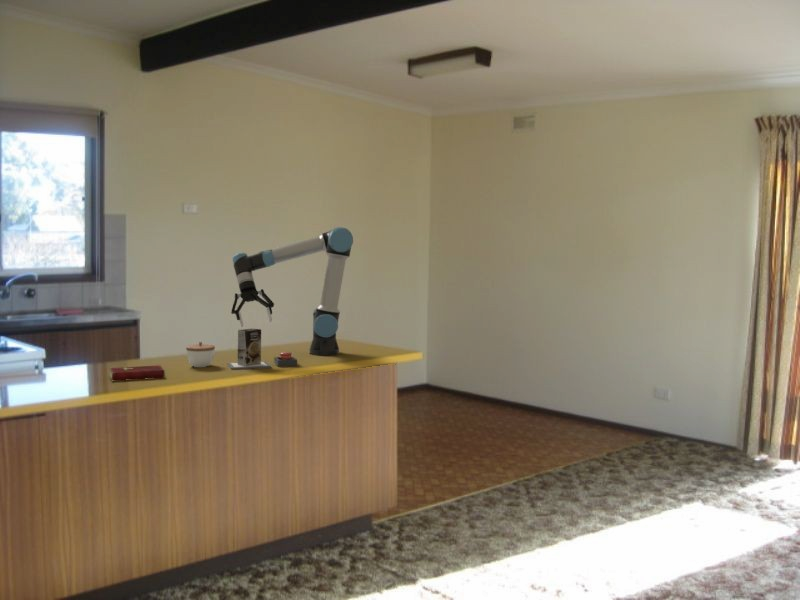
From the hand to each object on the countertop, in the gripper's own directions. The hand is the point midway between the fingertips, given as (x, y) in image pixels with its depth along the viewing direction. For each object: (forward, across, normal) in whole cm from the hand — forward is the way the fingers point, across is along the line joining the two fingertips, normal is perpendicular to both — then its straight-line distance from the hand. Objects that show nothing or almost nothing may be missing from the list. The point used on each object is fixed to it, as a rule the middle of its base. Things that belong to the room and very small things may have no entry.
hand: (256, 323), depth 371 cm
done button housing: (+21, -9, -4) cm, 24 cm away
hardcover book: (+20, +57, +11) cm, 61 cm away
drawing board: (+19, +8, -3) cm, 21 cm away
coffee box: (+18, +7, -3) cm, 20 cm away
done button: (+19, -9, -3) cm, 22 cm away
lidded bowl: (+13, +28, -7) cm, 32 cm away
